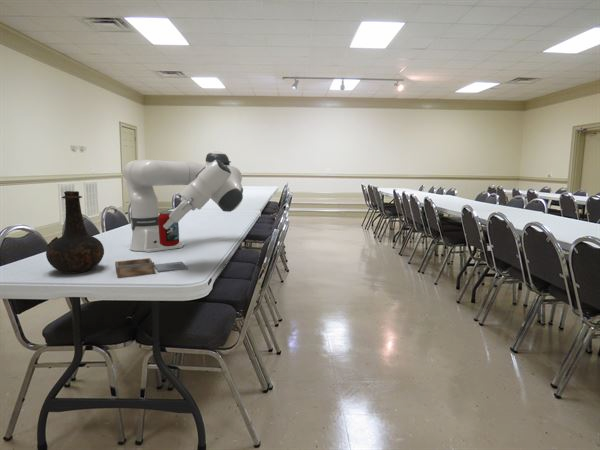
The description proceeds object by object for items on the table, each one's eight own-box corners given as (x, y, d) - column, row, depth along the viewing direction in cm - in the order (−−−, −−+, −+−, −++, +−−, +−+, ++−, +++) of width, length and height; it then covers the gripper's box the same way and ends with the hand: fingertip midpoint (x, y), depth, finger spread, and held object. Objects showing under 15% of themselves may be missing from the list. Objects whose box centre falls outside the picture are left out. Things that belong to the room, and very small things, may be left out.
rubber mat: (182, 263, 153) (181, 261, 152) (187, 268, 144) (187, 267, 144) (154, 266, 148) (154, 264, 148) (158, 272, 139) (158, 270, 139)
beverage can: (173, 247, 141) (171, 213, 139) (156, 246, 143) (153, 213, 140) (182, 243, 148) (181, 210, 145) (165, 242, 149) (163, 210, 147)
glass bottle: (58, 265, 150) (51, 190, 146) (110, 262, 154) (104, 189, 150) (39, 278, 132) (30, 193, 128) (98, 275, 136) (91, 192, 132)
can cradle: (150, 266, 148) (149, 256, 148) (154, 273, 138) (154, 262, 137) (115, 269, 143) (114, 259, 142) (117, 277, 133) (116, 266, 132)
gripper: (198, 206, 134) (169, 237, 134) (202, 201, 154) (176, 227, 154) (183, 193, 133) (154, 224, 133) (189, 190, 153) (163, 216, 153)
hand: (166, 226), depth 144 cm, fingers closed on beverage can, 7 cm apart
